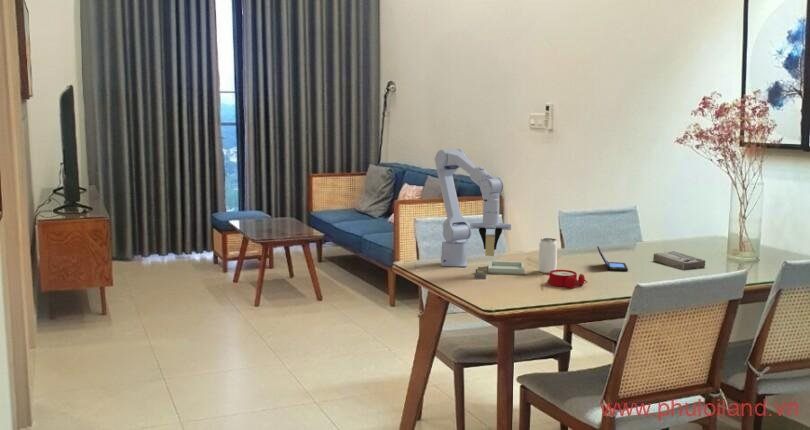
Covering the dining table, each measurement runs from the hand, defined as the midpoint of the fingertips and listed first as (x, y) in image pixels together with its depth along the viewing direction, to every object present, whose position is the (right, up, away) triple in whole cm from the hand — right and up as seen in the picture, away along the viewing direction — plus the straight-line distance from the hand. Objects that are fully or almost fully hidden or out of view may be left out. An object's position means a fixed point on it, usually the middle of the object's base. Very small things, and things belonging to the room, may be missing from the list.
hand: (490, 248), depth 281 cm
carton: (0, -2, 0) cm, 2 cm away
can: (+22, -9, +6) cm, 24 cm away
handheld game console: (+47, -8, +13) cm, 50 cm away
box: (+75, -8, +20) cm, 78 cm away
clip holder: (-4, -10, -2) cm, 10 cm away
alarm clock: (+25, -12, -14) cm, 31 cm away
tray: (+7, -8, +7) cm, 13 cm away
